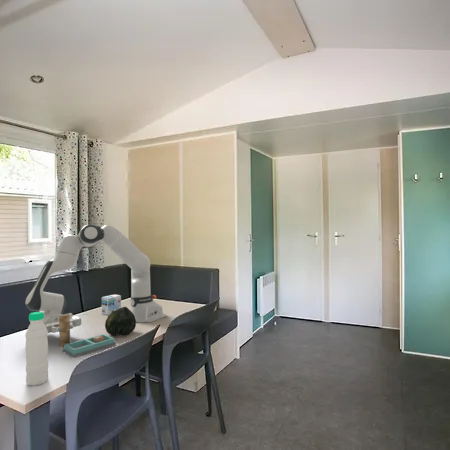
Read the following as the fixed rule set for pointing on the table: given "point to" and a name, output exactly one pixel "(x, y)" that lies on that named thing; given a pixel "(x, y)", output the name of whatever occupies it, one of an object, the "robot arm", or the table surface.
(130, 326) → the squash
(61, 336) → the oak post
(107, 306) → the light bulb box
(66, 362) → the table surface
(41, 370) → the water bottle
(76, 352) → the housing plate
